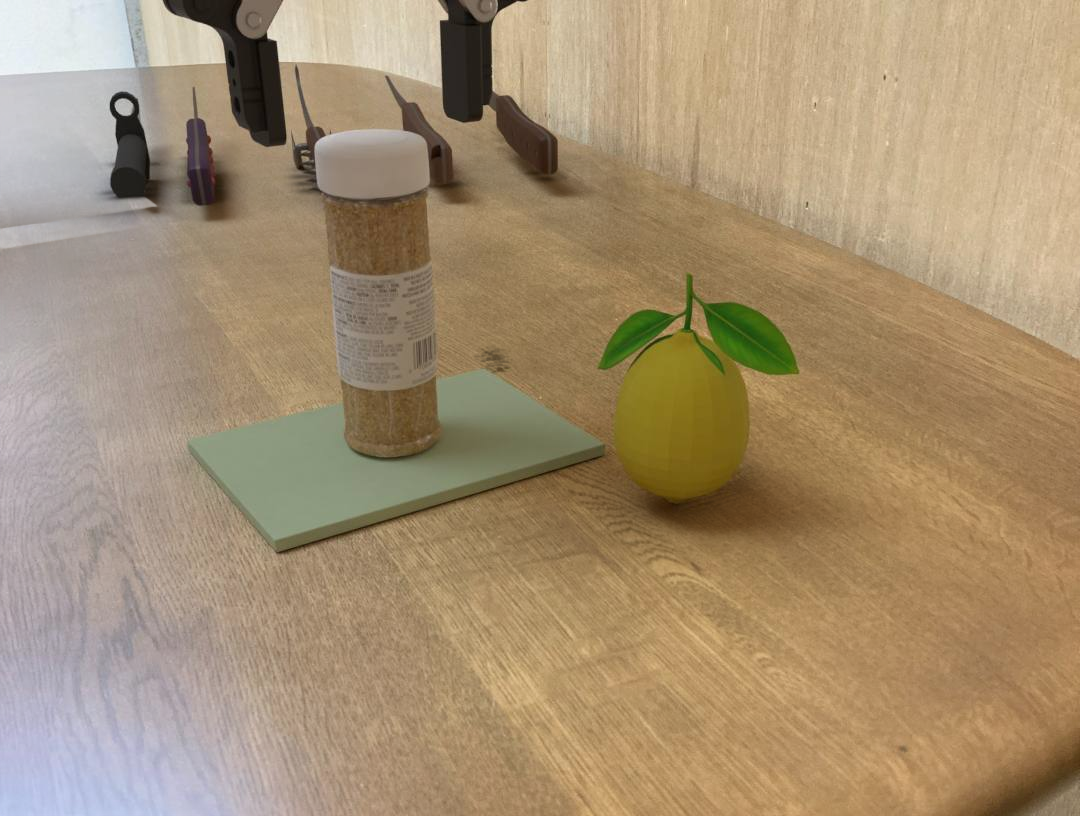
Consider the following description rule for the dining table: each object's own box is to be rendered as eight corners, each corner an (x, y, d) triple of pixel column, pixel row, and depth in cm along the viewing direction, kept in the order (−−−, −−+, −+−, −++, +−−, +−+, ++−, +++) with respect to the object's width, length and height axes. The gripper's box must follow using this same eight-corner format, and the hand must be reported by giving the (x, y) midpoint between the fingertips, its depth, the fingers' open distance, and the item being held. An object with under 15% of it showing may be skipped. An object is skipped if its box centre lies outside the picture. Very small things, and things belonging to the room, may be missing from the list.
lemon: (781, 528, 47) (809, 290, 42) (650, 553, 45) (663, 309, 40) (706, 459, 52) (723, 242, 47) (587, 479, 50) (591, 257, 45)
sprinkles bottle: (389, 411, 55) (367, 121, 48) (462, 434, 53) (450, 134, 46) (321, 445, 52) (288, 139, 45) (397, 471, 50) (374, 153, 43)
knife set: (476, 111, 120) (473, 31, 116) (561, 202, 94) (561, 104, 89) (131, 137, 113) (114, 54, 109) (117, 245, 86) (94, 140, 82)
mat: (276, 553, 45) (274, 540, 45) (188, 450, 53) (186, 439, 53) (605, 455, 53) (605, 443, 52) (484, 378, 61) (484, 367, 60)
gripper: (466, -351, 43) (476, 100, 52) (80, -392, 37) (163, 134, 45) (578, -381, 38) (569, 128, 46) (149, -435, 31) (229, 171, 40)
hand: (369, 130), depth 46 cm, fingers open, 8 cm apart
